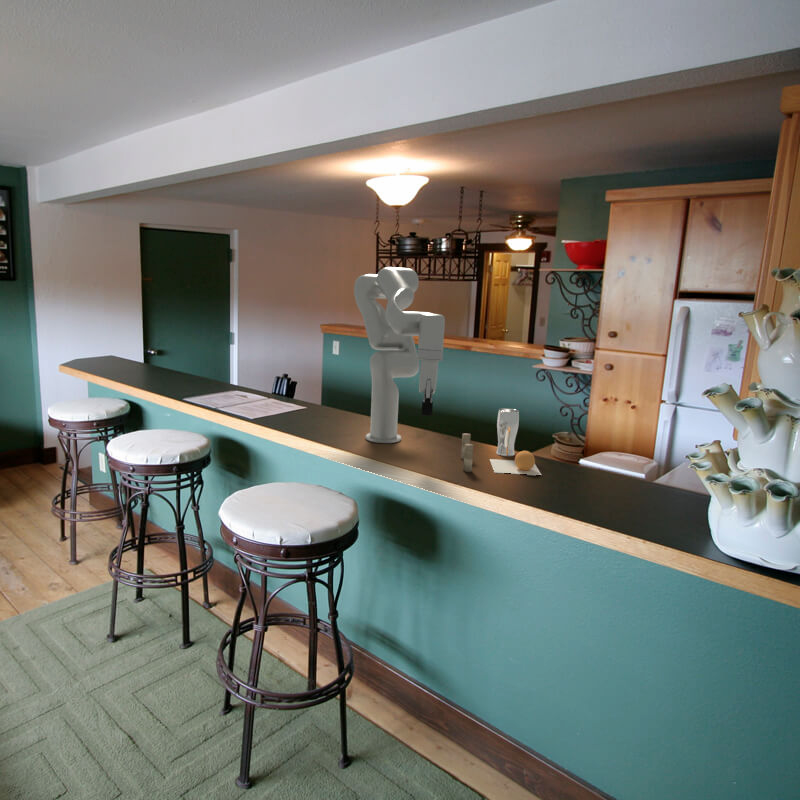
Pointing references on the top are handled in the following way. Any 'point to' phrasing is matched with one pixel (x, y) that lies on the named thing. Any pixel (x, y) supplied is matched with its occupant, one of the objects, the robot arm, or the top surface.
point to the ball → (524, 460)
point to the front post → (468, 458)
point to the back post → (464, 441)
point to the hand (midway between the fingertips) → (426, 414)
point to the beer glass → (507, 431)
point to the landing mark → (511, 467)
